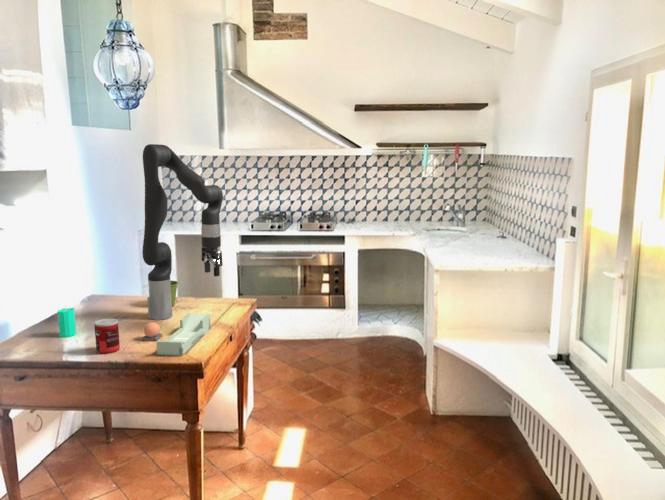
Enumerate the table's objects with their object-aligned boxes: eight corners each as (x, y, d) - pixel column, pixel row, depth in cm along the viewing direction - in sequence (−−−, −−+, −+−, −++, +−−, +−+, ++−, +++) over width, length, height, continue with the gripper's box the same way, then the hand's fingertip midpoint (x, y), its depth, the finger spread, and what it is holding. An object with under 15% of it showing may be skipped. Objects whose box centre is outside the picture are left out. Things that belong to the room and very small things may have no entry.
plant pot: (162, 310, 243) (160, 287, 241) (149, 306, 251) (148, 283, 249) (184, 305, 252) (183, 282, 250) (171, 301, 260) (170, 279, 258)
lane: (157, 355, 187) (156, 338, 186) (189, 327, 218) (188, 313, 217) (182, 356, 186) (181, 339, 185) (211, 328, 217) (210, 313, 216)
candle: (79, 333, 211) (77, 304, 209) (67, 338, 206) (65, 308, 204) (68, 332, 213) (65, 303, 211) (56, 336, 208) (53, 307, 206)
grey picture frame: (142, 340, 202) (142, 337, 202) (148, 336, 208) (148, 333, 208) (156, 341, 202) (156, 338, 202) (162, 336, 207) (162, 333, 207)
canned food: (100, 347, 196) (98, 318, 194) (122, 346, 196) (120, 318, 194) (93, 354, 188) (90, 325, 186) (116, 353, 189) (114, 324, 187)
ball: (141, 339, 202) (140, 324, 201) (148, 334, 208) (147, 320, 207) (156, 340, 202) (155, 325, 201) (163, 335, 207) (162, 320, 206)
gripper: (194, 233, 215) (196, 272, 218) (210, 238, 204) (211, 278, 207) (211, 232, 220) (213, 270, 223) (227, 236, 209) (228, 276, 212)
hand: (212, 274), depth 215 cm, fingers open, 8 cm apart
